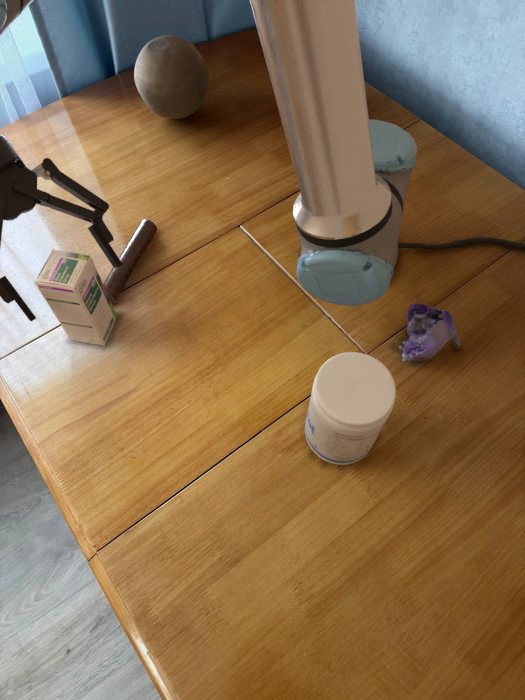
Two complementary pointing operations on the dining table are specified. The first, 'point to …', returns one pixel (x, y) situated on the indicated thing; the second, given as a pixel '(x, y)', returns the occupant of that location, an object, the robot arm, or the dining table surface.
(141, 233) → the walnut baton
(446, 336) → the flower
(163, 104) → the cantaloupe
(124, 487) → the dining table surface
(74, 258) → the syrup box
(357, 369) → the supplement tub
